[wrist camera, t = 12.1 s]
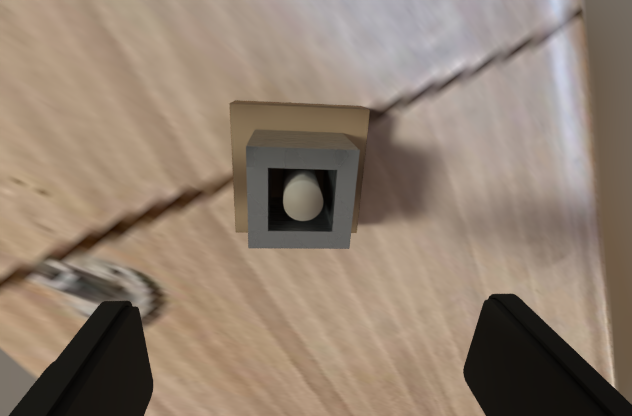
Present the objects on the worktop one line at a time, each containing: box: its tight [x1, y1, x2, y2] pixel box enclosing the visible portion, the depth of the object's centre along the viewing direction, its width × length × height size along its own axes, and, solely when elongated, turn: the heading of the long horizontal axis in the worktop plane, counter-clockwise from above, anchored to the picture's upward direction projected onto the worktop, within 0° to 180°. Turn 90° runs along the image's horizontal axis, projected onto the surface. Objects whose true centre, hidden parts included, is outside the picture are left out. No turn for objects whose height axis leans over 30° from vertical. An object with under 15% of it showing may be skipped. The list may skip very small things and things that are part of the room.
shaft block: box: [230, 100, 370, 233], centre depth 24 cm, size 10×10×9 cm
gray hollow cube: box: [246, 129, 360, 249], centre depth 22 cm, size 6×6×6 cm
